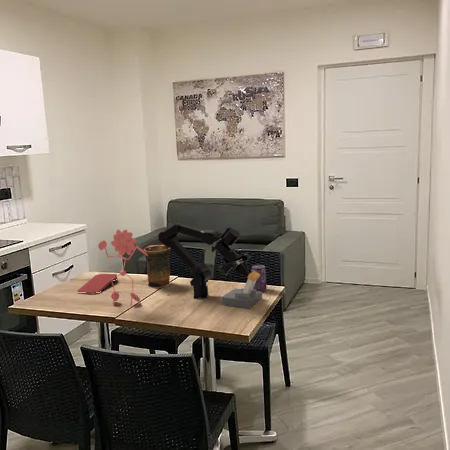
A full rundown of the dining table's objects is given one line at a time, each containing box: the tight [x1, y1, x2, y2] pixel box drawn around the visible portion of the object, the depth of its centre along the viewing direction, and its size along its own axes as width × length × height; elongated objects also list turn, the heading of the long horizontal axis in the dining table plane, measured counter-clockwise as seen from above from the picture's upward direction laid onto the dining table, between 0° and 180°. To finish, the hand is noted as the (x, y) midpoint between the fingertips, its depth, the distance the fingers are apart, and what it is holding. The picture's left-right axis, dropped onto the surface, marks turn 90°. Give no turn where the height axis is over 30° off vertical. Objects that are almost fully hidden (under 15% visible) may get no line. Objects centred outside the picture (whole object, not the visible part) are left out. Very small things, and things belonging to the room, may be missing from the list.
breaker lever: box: [242, 271, 260, 294], centre depth 218 cm, size 3×6×10 cm, turn 151°
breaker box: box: [220, 287, 263, 309], centre depth 222 cm, size 14×14×5 cm
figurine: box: [97, 229, 148, 307], centre depth 227 cm, size 15×26×35 cm, turn 73°
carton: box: [77, 273, 118, 293], centre depth 256 cm, size 12×5×25 cm
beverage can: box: [251, 264, 267, 292], centre depth 237 cm, size 7×7×12 cm
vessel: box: [143, 244, 172, 289], centre depth 254 cm, size 14×14×20 cm
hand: (249, 276), depth 218 cm, fingers closed, pressing on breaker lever
